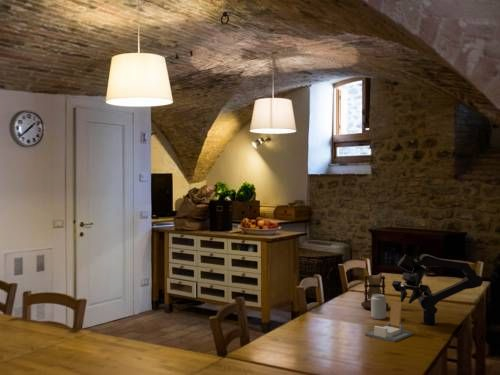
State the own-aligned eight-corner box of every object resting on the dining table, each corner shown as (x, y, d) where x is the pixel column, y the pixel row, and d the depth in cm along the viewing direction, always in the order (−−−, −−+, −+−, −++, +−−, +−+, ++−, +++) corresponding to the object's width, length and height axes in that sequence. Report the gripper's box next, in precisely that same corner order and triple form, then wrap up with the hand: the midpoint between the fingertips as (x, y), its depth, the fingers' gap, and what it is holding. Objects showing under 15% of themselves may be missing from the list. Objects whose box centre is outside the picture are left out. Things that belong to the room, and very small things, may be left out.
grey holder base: (384, 328, 262) (384, 317, 262) (413, 334, 251) (413, 323, 251) (365, 335, 250) (365, 324, 250) (394, 342, 239) (394, 331, 239)
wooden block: (390, 323, 256) (392, 300, 257) (400, 325, 252) (401, 302, 253) (389, 324, 255) (391, 300, 256) (399, 326, 252) (400, 302, 253)
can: (386, 320, 276) (386, 296, 276) (371, 319, 278) (371, 296, 278) (385, 316, 284) (385, 293, 283) (371, 315, 285) (370, 293, 285)
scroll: (387, 305, 308) (387, 270, 308) (389, 312, 293) (389, 275, 293) (360, 304, 310) (360, 270, 310) (361, 311, 296) (361, 274, 296)
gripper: (393, 264, 271) (381, 289, 263) (428, 268, 257) (417, 295, 250) (401, 278, 276) (390, 303, 269) (436, 282, 263) (425, 309, 255)
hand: (405, 302), depth 260 cm, fingers open, 4 cm apart
